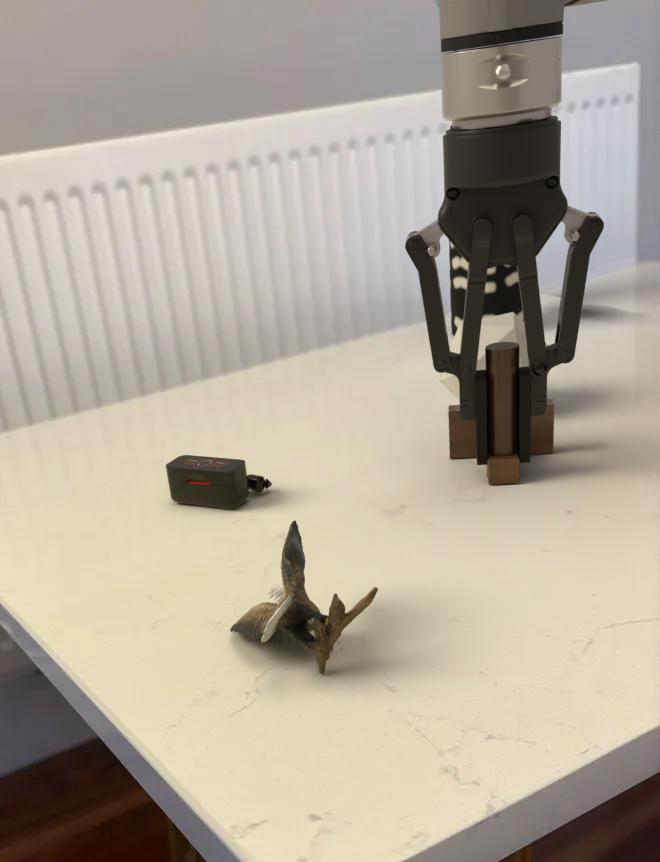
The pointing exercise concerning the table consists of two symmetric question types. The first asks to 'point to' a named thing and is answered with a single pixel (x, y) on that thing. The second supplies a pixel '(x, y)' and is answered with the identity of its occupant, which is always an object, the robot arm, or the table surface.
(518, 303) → the spotted tube
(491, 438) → the wooden block stack
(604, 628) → the table surface
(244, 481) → the wireless earbuds
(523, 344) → the die
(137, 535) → the table surface
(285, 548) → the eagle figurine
